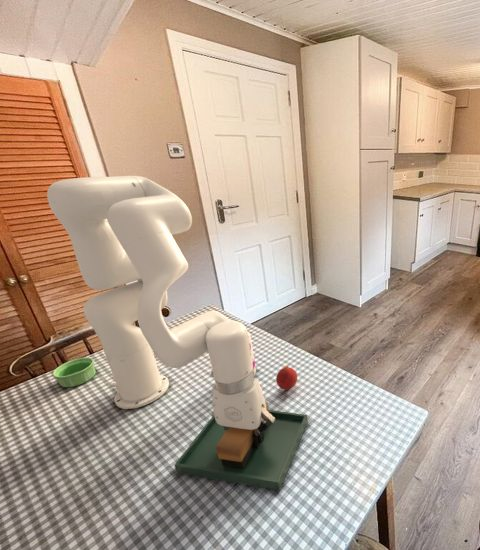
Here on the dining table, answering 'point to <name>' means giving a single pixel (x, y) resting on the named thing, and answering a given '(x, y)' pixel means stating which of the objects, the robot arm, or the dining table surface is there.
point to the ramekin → (75, 372)
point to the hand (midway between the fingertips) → (247, 440)
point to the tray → (262, 462)
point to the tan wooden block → (236, 446)
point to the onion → (286, 378)
